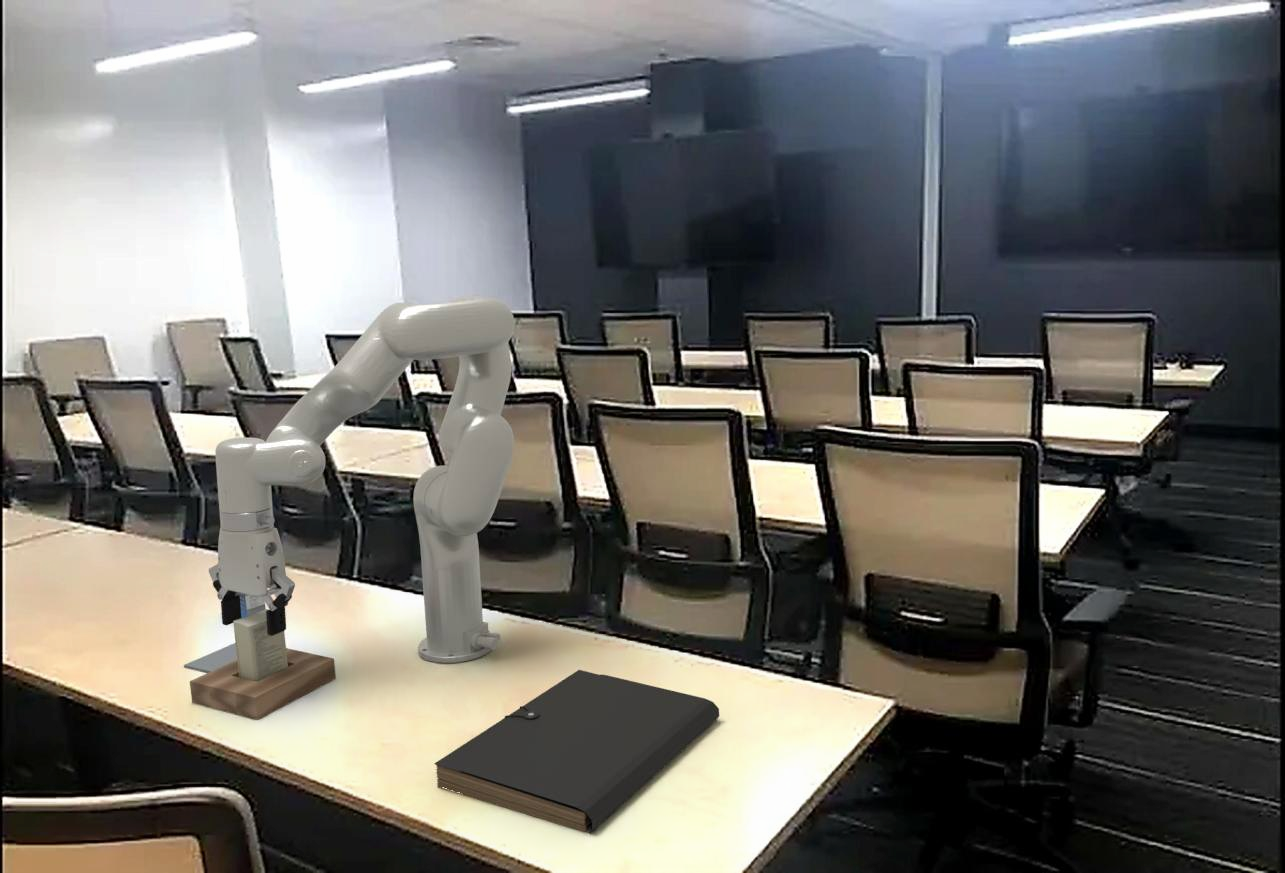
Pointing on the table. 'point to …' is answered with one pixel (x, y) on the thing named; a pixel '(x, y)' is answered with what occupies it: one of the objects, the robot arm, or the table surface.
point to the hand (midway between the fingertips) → (254, 627)
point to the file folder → (577, 748)
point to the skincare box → (258, 648)
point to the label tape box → (250, 604)
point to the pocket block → (262, 685)
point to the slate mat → (214, 659)
